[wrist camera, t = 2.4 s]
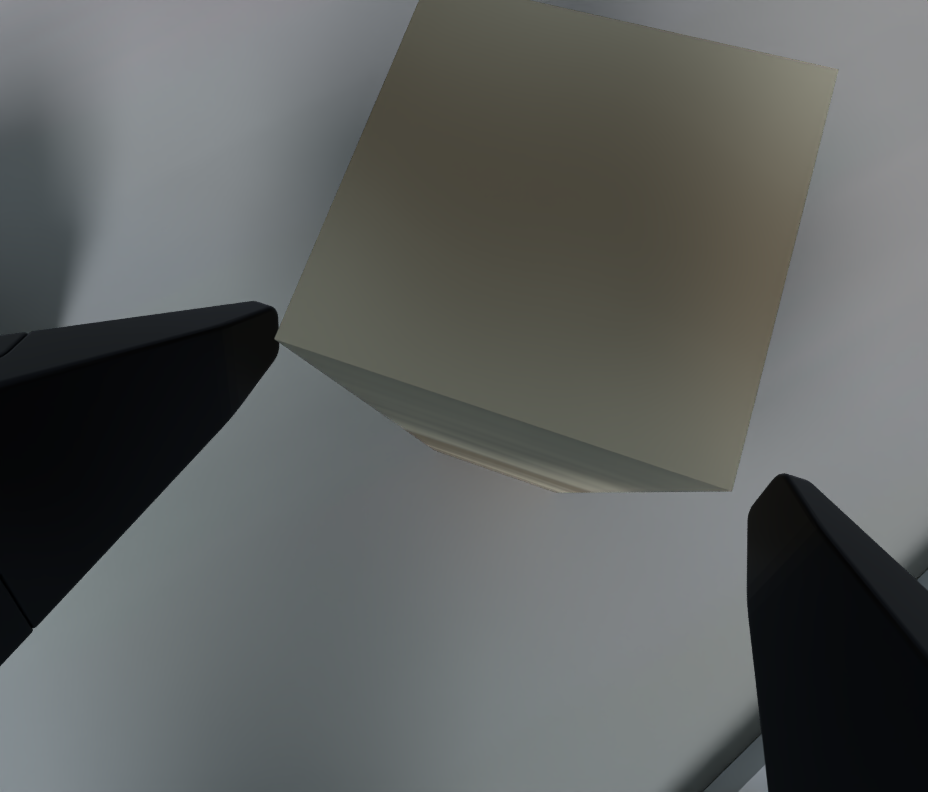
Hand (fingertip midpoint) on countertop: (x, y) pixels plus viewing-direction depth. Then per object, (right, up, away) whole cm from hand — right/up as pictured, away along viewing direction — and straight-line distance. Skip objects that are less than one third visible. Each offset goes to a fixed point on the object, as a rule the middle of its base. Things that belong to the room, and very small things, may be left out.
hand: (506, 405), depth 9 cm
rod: (+1, 0, +9) cm, 9 cm away
